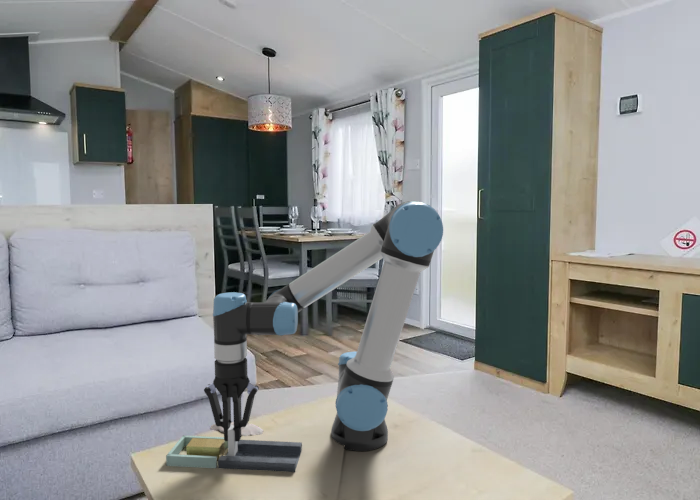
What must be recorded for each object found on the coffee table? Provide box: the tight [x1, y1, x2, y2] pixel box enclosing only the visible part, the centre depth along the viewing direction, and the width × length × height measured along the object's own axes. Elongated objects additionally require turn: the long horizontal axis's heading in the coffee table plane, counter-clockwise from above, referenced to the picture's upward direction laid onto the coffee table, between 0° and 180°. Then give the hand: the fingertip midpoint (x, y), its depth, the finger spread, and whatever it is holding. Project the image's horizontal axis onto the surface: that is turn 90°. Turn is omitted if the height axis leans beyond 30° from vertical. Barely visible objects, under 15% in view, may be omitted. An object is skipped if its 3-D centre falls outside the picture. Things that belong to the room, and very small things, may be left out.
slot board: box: [217, 439, 303, 473], centre depth 121 cm, size 18×10×3 cm, turn 86°
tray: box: [165, 435, 228, 469], centre depth 122 cm, size 12×10×3 cm
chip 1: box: [185, 438, 208, 456], centre depth 122 cm, size 4×4×4 cm
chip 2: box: [203, 439, 226, 462], centre depth 121 cm, size 4×4×4 cm
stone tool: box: [209, 421, 264, 437], centre depth 136 cm, size 8×3×15 cm
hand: (233, 453), depth 121 cm, fingers closed
